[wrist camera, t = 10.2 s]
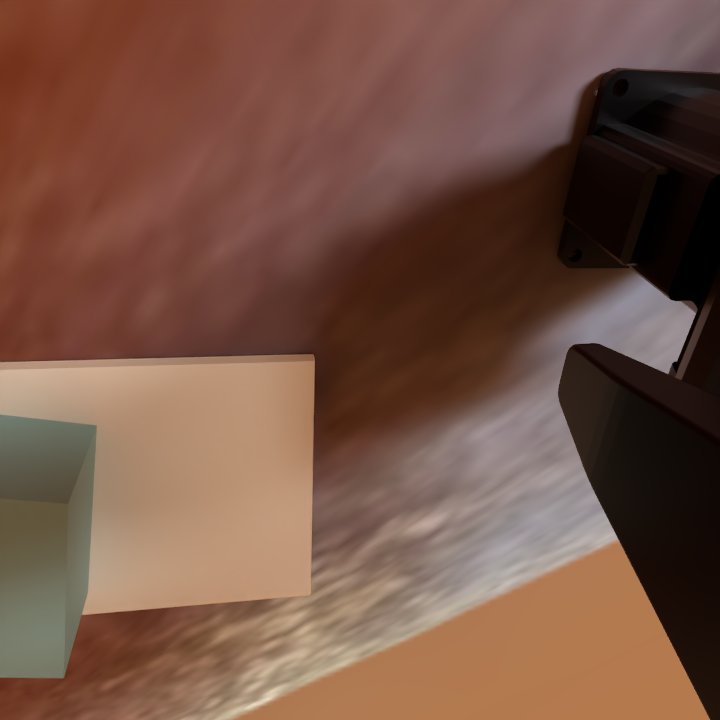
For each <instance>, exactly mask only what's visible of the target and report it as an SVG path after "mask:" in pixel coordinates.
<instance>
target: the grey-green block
mask: <svg viewBox="0 0 720 720" xmlns="http://www.w3.org/2000/svg"><path fill="white" fill-rule="evenodd" d="M96 432H97V425H89V424H80V423H71V422H62V421H54V420H45V419H36V418H27V417H18V416H9V415H0V678H64V676H65V672H66V669H67V665H68V662H69V658H70V655H71V651H72V647H73V644H74V640H75V637H76V633H77V630H78V626H79V623H80V619H81V616H82V612H83V608H84V605H85V601H86V598H87V594H88V582H89V563H90V545H91V526H92V507H93V488H94V470H95V451H96Z"/></svg>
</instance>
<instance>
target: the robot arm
mask: <svg viewBox="0 0 720 720" xmlns="http://www.w3.org/2000/svg"><path fill="white" fill-rule="evenodd" d="M619 79H621V81H622V87H621V89H620V91H618V92H617V93H616V94H613V86H614V84H615V82H617V81H618V80H619ZM563 215H564V217H565V218H566V220H565V224H564V228H563V232H562V236H561V240H560V244H559V247H558V253H557V256H558V259H559V261H561V262H562V263H563V264H564V265H565V266H566V267H568V268H631V269H633V270H634V271H635V272H636V273H638V274H639V275H640V276H641V277H643V278H644V279H645V280H647V281H648V282H649V283H650V284H652V285H653V286H654V287H655V288H657V289H658V290H659V291H660V292H662V293H663V294H664V295H666V296H667V297H668V298H669V299H671V300H674V301H681V302H682V303H684V304H685V305H686V306H688V307H689V308H690V309H692V310H693V311H694V312H695V313H696V315H695V318H694V320H693V323H692V325H691V328H690V330H689V333H688V336H687V338H686V341H685V343H684V346H683V348H682V351H681V353H680V356H679V358H678V361H677V362H673V363H672V366H671V368H670V371H669V373H668V374H666V373H664V372H661V371H659V370H657V369H655V368H652V367H650V366H648V365H646V364H643V363H641V362H639V361H637V360H634V359H632V358H630V357H627V356H625V355H623V354H621V353H618V352H616V351H614V350H612V349H609V348H607V347H605V346H602V345H600V344H596V343H590V344H575V345H573V346H572V347H570V348H569V350H568V352H567V355H566V359H565V363H564V367H563V371H562V375H561V379H560V384H559V389H558V396H559V402H560V405H561V408H562V410H563V413H564V416H565V418H566V421H567V424H568V426H569V429H570V432H571V435H572V437H573V440H574V443H575V445H576V448H577V451H578V453H579V456H580V459H581V462H582V464H583V467H584V469H585V472H586V474H587V477H588V479H589V482H590V484H591V486H592V488H593V490H594V492H595V494H596V496H597V498H598V500H599V502H600V504H601V506H602V508H603V510H604V512H605V514H606V516H607V518H608V520H609V522H610V524H611V526H612V528H613V529H614V531H615V533H616V535H617V537H618V539H619V541H620V543H621V545H622V547H623V549H624V551H625V553H626V555H627V557H628V559H629V561H630V563H631V565H632V567H633V569H634V571H635V573H636V575H637V576H638V579H639V581H640V583H641V584H642V586H643V588H644V590H645V592H646V594H647V596H648V598H649V600H650V602H651V604H652V606H653V608H654V610H655V612H656V614H657V616H658V618H659V620H660V622H661V624H662V626H663V628H664V630H665V632H666V633H667V636H668V637H669V640H670V642H671V643H672V645H673V647H674V649H675V651H676V653H677V655H678V657H679V659H680V661H681V663H682V665H683V667H684V669H685V671H686V673H687V675H688V677H689V679H690V681H691V683H692V685H693V687H694V689H695V691H696V693H697V695H698V696H699V699H700V701H701V702H702V704H703V706H704V708H705V710H706V712H707V714H708V716H709V718H710V720H720V73H711V72H691V71H670V70H649V69H629V68H616V69H612V70H611V71H609V72H607V73H606V74H605V76H604V77H603V78H602V80H601V82H600V85H599V88H598V92H597V96H596V100H595V104H594V108H593V112H592V116H591V120H590V124H589V128H588V132H587V136H586V138H585V139H584V140H583V141H582V142H581V143H580V147H579V151H578V155H577V159H576V163H575V167H574V171H573V175H572V179H571V183H570V187H569V192H568V196H567V200H566V204H565V208H564V212H563ZM573 249H577V252H576V254H575V255H574V256H573V257H570V258H569V254H570V252H571V251H572V250H573Z"/></svg>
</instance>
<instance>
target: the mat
mask: <svg viewBox="0 0 720 720" xmlns="http://www.w3.org/2000/svg"><path fill="white" fill-rule="evenodd" d="M314 375H315V359H314V354H294V355H256V356H218V357H181V358H143V359H106V360H68V361H31V362H0V415H9V416H18V417H27V418H36V419H45V420H54V421H62V422H71V423H80V424H89V425H97V432H96V451H95V470H94V488H93V507H92V526H91V545H90V563H89V582H88V594H87V598H86V601H85V605H84V608H83V612H82V615H87V614H99V613H110V612H122V611H133V610H145V609H156V608H168V607H179V606H191V605H203V604H214V603H226V602H237V601H249V600H260V599H272V598H283V597H295V596H306V595H311V547H312V490H313V433H314Z"/></svg>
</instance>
